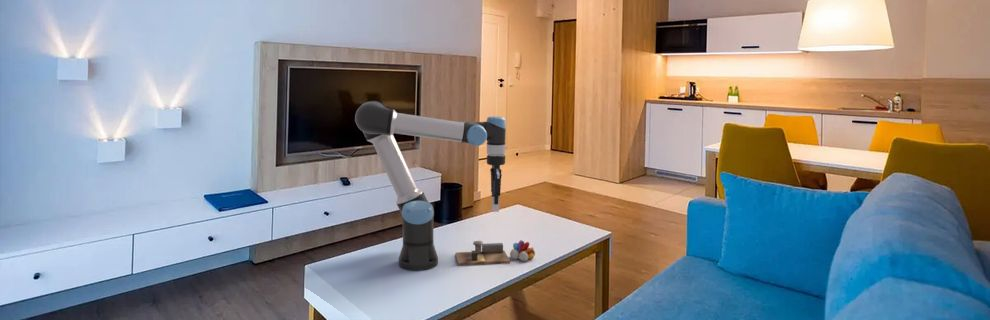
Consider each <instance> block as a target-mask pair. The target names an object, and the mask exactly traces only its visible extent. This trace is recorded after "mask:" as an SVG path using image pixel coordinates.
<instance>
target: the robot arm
mask: <svg viewBox="0 0 990 320" xmlns="http://www.w3.org/2000/svg"><path fill="white" fill-rule="evenodd" d="M354 122H355V124H356V126H357V128H358V129H359V130H360V131H361V132H362V133H363V135H364V137H365V139H366V141H367V142H369V143H371V144H372V145H373V147H374V149H375V151H376V154H377V156H378V158H379V160H380V163H381V165H382V166H383V168H384V170H385V173H386V175H387V177H388V179H389V181H390V184H391V185H392V188H393V190H394V193H395V194H396V196H397V199H396V201H395V202H396V205H397V208H398V210H399V212H400V214H401V216H402V217H401V218H402V219H401V220H402V222H401V223H402V247H401V250H400V253H399V256H398V260H397V261H398V266H399V267H400V268H401V269H403V270H408V271H426V270H430V269H433V268H435V267H437V266H438V265H439V256H438V253H437V250H436V247H435V244H434V215H435V211H434V207H433V205H432V203H430V201H428V199H427V197H426V195H425V192H424V191H423V189H420V188H418V186H417V184H416V181H415V180H414V178H413V175H412V173H411V171H410V169H409V167H408V164H407V162H406V160H405V158H404V156H403V153H402V150H401V149H400V146H399V145H398V142H397V140H396V138H395V136H394V134H397V135H406V136H412V137H420V138H427V139H432V140H433V139H435V140H442V141H448V142H456V143H464V144H468V145H472V146H477V147H478V146H481V145H483V144H484V143H485V142H486V154H487V155H486V164H487V165H488V166H491V168H490V170H489V171H490V193H491V212H492V213H495V212H496V213H498V212H500V196H501V185H502V183H501V182H502V175H503V174H502V169H501V167H500V166H503V165H505V164H506V156H505V154H506V149H508V146H506V135H507V134H506V133H507V132H506V130H507V127H506V126H507V125H506V118H505V117H503V116H497V115H495V116H487V118H486V121H466V120H465V121H456V120H455V121H454V120H447V119H441V118H435V117H428V116H421V115H414V114H407V113H400V112H397V111H396V110H395V109H391V108H387V107H386V106H385V105H384V104H383V103H381V102H380V101H376V100H370V101H366V102H364V103H362V104H361V105H360V106H359V107H358V108H357V110H356V112H355V115H354Z"/></svg>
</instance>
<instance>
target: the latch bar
mask: <svg viewBox="0 0 990 320" xmlns="http://www.w3.org/2000/svg"><path fill="white" fill-rule="evenodd" d="M481 251H482V253H490V252H503V251H504V244H503V242H494V243H493V242H490V243H483V245H481Z"/></svg>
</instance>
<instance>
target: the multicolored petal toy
mask: <svg viewBox="0 0 990 320" xmlns="http://www.w3.org/2000/svg"><path fill="white" fill-rule="evenodd" d="M512 244H513V245H512V247H513V249H511V251H510V253H509V256H510V258H511V259H512V260H518V259H519V261H521V262H527V261H528V260H529V259H533V258H534V257H535V256H536V250H535V249H534V247H529V246H530V242H529V241H527V242H525V241H524V240H522V239H521V240H519V241H518V242H514V243H512Z"/></svg>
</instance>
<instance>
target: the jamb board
mask: <svg viewBox="0 0 990 320" xmlns="http://www.w3.org/2000/svg"><path fill="white" fill-rule="evenodd" d="M483 244H484V241H482V240H475V241H473V242H472V245H473V246H474V249H475V250H471V251H463V252H455V258H456V261H457V266H459V267H460V266H481V265H482V266H483V265H497V264H498V265H499V264H510V263H511V260H510V258H509V256H508V255H507V253H506V251H505V250H503V252H490V253H482V245H483Z"/></svg>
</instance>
